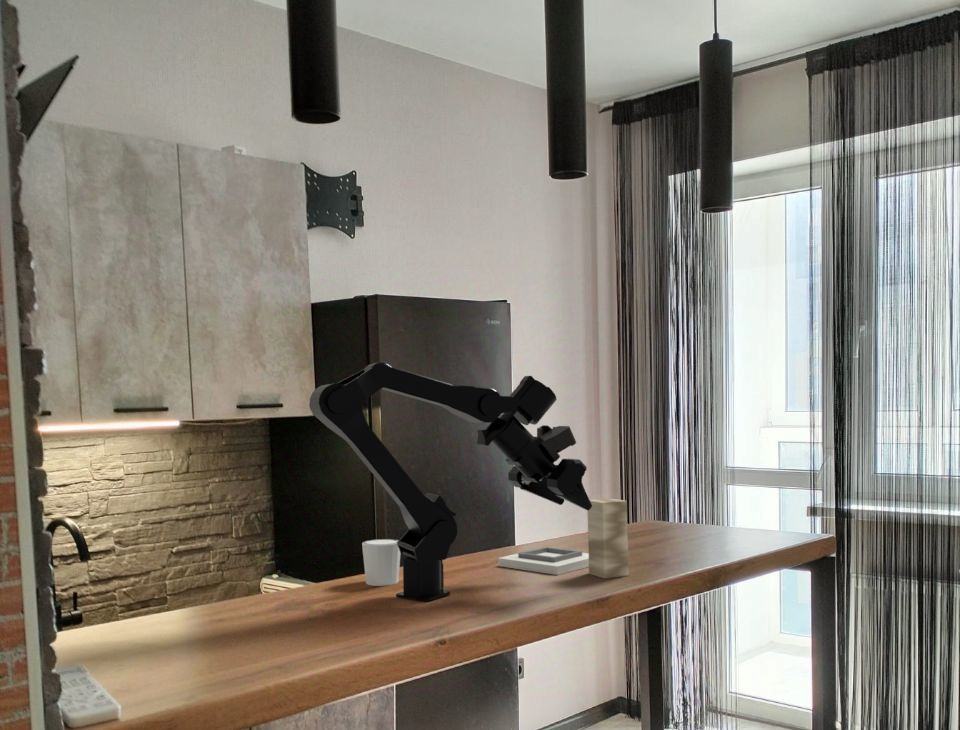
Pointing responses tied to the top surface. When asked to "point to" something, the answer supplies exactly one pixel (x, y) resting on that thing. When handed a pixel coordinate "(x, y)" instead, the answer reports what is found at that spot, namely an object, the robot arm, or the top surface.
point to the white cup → (381, 562)
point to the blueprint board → (547, 560)
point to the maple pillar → (608, 538)
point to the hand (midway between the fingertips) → (575, 505)
